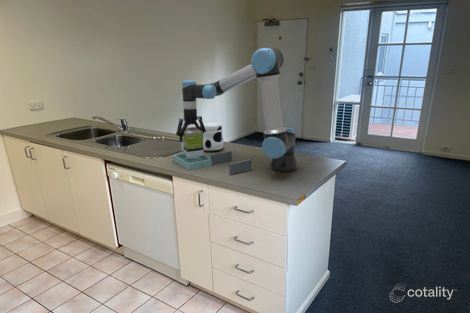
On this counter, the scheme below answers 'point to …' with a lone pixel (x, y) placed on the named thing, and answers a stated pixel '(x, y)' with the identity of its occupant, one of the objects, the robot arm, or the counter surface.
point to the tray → (192, 161)
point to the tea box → (193, 142)
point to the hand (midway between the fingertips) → (191, 145)
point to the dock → (233, 167)
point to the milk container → (212, 136)
